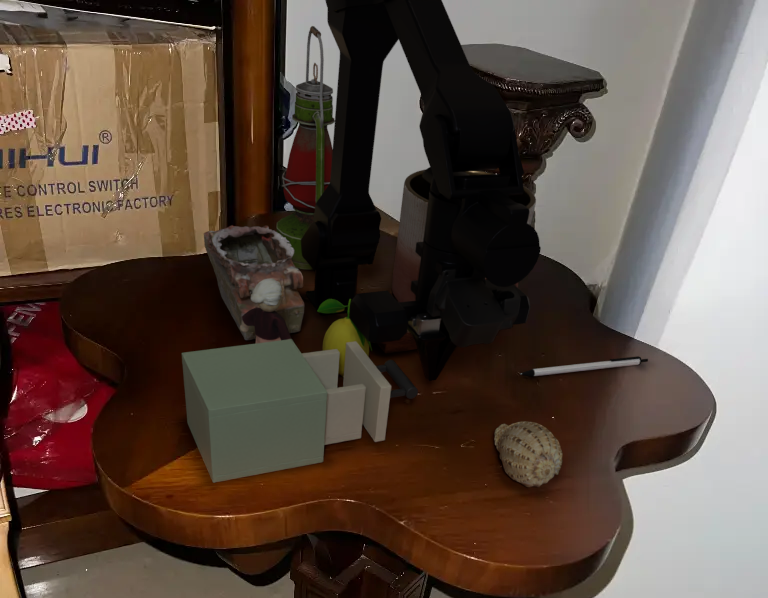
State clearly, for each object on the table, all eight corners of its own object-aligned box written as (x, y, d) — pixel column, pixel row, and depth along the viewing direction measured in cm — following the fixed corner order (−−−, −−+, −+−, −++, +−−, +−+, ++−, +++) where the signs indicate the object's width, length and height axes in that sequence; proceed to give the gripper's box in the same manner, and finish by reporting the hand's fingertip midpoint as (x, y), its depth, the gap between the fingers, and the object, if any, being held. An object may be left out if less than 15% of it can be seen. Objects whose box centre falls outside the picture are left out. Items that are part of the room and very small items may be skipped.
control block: (344, 318, 104) (346, 294, 102) (398, 312, 107) (401, 288, 105) (378, 360, 97) (380, 335, 94) (434, 352, 100) (438, 327, 97)
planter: (434, 340, 102) (452, 221, 92) (368, 283, 113) (378, 171, 103) (537, 318, 110) (565, 207, 100) (466, 267, 121) (484, 162, 110)
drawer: (384, 388, 90) (391, 336, 86) (420, 433, 84) (428, 380, 80) (263, 407, 85) (263, 353, 80) (291, 457, 79) (292, 401, 74)
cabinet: (290, 407, 87) (291, 338, 81) (323, 462, 80) (327, 391, 74) (187, 423, 83) (181, 352, 77) (212, 483, 76) (208, 410, 70)
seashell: (471, 479, 85) (534, 497, 77) (465, 427, 83) (529, 439, 75) (523, 460, 88) (589, 476, 80) (519, 409, 86) (586, 420, 78)
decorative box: (199, 350, 94) (194, 275, 88) (183, 278, 108) (177, 209, 102) (305, 344, 98) (308, 271, 92) (276, 275, 112) (276, 208, 106)
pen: (647, 364, 102) (650, 357, 102) (521, 378, 96) (523, 371, 96) (644, 361, 103) (646, 353, 102) (518, 375, 97) (520, 367, 96)
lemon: (314, 361, 95) (318, 285, 88) (361, 361, 96) (368, 285, 90) (321, 391, 90) (326, 312, 84) (371, 390, 91) (379, 312, 85)
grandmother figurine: (304, 384, 91) (308, 282, 83) (288, 399, 88) (290, 295, 80) (248, 365, 93) (246, 264, 85) (230, 379, 90) (226, 276, 82)
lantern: (353, 273, 115) (370, 42, 95) (283, 275, 112) (285, 38, 93) (331, 236, 125) (343, 20, 105) (266, 237, 122) (265, 15, 102)
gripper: (401, 287, 67) (384, 433, 77) (576, 268, 74) (539, 405, 84) (352, 236, 74) (342, 376, 84) (516, 223, 81) (488, 354, 91)
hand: (430, 379), depth 86 cm, fingers closed
